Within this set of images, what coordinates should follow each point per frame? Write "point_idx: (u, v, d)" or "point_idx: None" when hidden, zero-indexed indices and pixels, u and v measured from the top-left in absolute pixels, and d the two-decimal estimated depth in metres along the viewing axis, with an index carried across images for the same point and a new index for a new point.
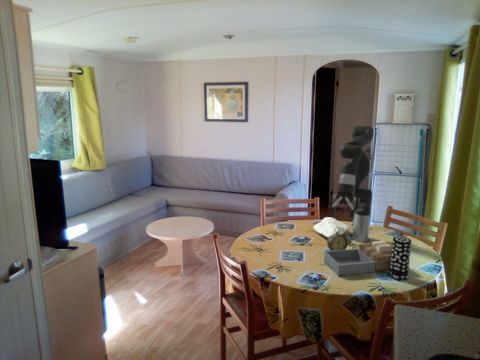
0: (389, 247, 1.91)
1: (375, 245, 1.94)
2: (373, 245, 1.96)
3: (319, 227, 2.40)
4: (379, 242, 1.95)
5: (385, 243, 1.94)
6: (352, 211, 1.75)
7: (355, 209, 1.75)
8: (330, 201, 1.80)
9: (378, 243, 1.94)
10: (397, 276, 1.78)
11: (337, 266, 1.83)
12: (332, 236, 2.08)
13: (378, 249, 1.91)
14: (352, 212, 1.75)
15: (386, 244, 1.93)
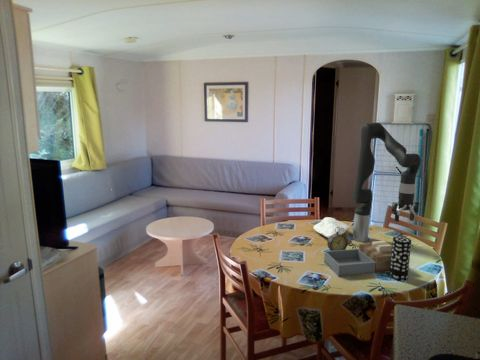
0: (389, 247, 1.91)
1: (375, 245, 1.94)
2: (373, 245, 1.96)
3: (319, 227, 2.40)
4: (379, 242, 1.95)
5: (385, 243, 1.94)
6: None
7: (415, 212, 1.93)
8: (395, 210, 1.90)
9: (378, 243, 1.94)
10: (397, 276, 1.78)
11: (337, 266, 1.83)
12: (332, 236, 2.08)
13: (378, 249, 1.91)
14: (413, 216, 1.93)
15: (386, 244, 1.93)
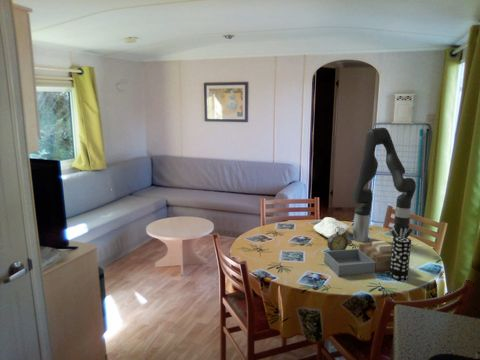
0: (389, 247, 1.91)
1: (375, 245, 1.94)
2: (373, 245, 1.96)
3: (319, 227, 2.40)
4: (379, 242, 1.95)
5: (385, 243, 1.94)
6: None
7: None
8: (396, 236, 1.93)
9: (378, 243, 1.94)
10: (397, 276, 1.78)
11: (337, 266, 1.83)
12: (332, 236, 2.08)
13: (378, 249, 1.91)
14: None
15: (386, 244, 1.93)
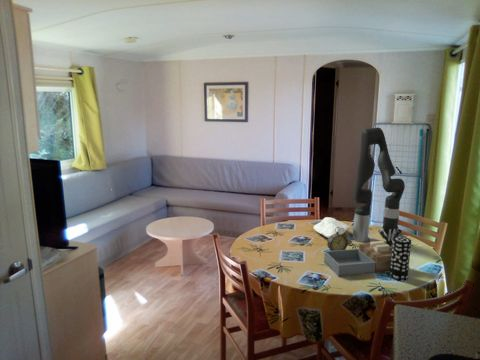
0: (387, 247, 1.91)
1: (373, 245, 1.94)
2: (371, 245, 1.96)
3: (319, 227, 2.40)
4: (377, 242, 1.95)
5: (383, 243, 1.94)
6: None
7: None
8: (384, 236, 1.92)
9: (376, 243, 1.94)
10: (397, 276, 1.78)
11: (337, 266, 1.83)
12: (332, 236, 2.08)
13: (376, 249, 1.91)
14: None
15: (384, 244, 1.92)
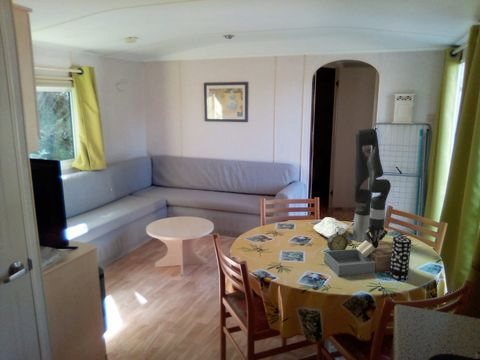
0: (371, 247, 1.89)
1: (359, 251, 1.93)
2: (358, 251, 1.95)
3: (319, 227, 2.40)
4: (361, 246, 1.94)
5: (366, 244, 1.92)
6: None
7: None
8: (370, 237, 1.90)
9: (360, 248, 1.93)
10: (397, 276, 1.78)
11: (337, 266, 1.83)
12: (332, 236, 2.08)
13: (363, 255, 1.90)
14: (377, 243, 1.92)
15: (367, 245, 1.91)
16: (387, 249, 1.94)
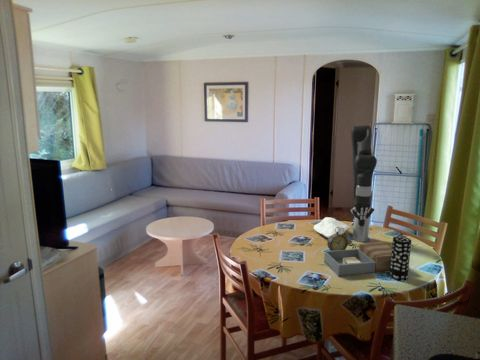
0: None
1: None
2: None
3: (319, 227, 2.40)
4: None
5: None
6: (363, 220, 1.88)
7: (365, 218, 1.88)
8: (356, 215, 1.86)
9: None
10: (397, 276, 1.78)
11: (337, 266, 1.83)
12: (332, 236, 2.08)
13: None
14: (363, 221, 1.88)
15: None
16: (387, 249, 1.94)
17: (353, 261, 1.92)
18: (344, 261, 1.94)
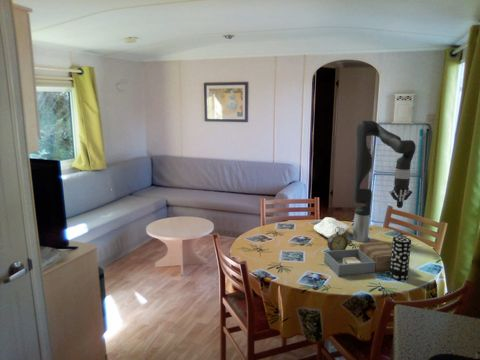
0: None
1: None
2: None
3: (319, 227, 2.40)
4: None
5: None
6: (402, 202, 1.99)
7: None
8: (396, 197, 1.98)
9: None
10: (397, 276, 1.78)
11: (337, 266, 1.83)
12: (332, 236, 2.08)
13: None
14: (402, 203, 2.00)
15: None
16: (387, 249, 1.94)
17: (353, 261, 1.92)
18: (344, 261, 1.94)
